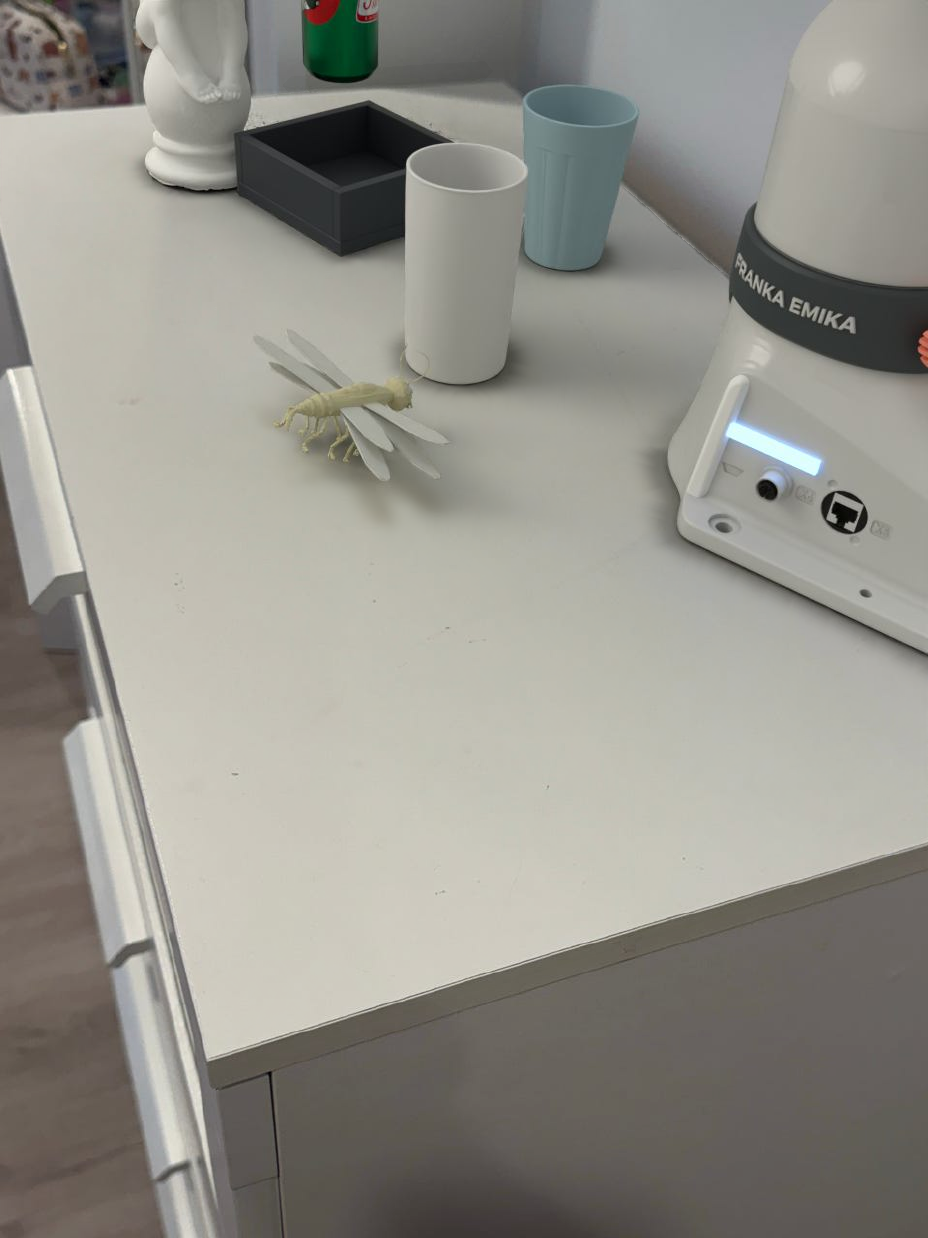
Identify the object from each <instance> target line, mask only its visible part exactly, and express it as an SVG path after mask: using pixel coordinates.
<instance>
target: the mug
mask: <svg viewBox="0 0 928 1238" xmlns="http://www.w3.org/2000/svg"><path fill="white" fill-rule="evenodd" d="M406 167H407V170H406V200H405V235H404V236H405V237H404V242H405V243H404V244H405V245H404V247H405V248H404V264H405V265H404V347H405V346H406V343H407V344H408V346H406V349H405V348H404V349H405V352H404V356H405V360H406V363H407V364H408V365H409V368H411V369H412V370H413V371H414V372H416V373H417V375H420V376H422V375H423V374H425V373H426V372H427V371H426V370H428V369H427V368H428V367H430V368H429V370H428V372H427V373H426V375H424V376H423V377H424V378H426V379H429V380H432V381H435V382H439V383H442V384H450V385H470V384H476V383H480V382H481V383H482V382H484V381H488V380H490V379H492V378H493V377H496V375H498V374H499V373H500V372H501V371H502V370H503V368H504V367H505V364H506V359H507V354H508V348H509V347H508V346H509V341H510V334H511V325H512V316H513V309H514V300H515V299H514V298H515V289H516V282H517V273H518V267H519V257H520V249H521V242H522V233H523V225H524V209H525V201H526V191H527V178H528V168H527V166H526V164H525V163H524V160H522V158H520V157H518V156H517V155H515V154H514V153H511V152H509V151H507V150H505V149H501V148H499V147H496V146H495V147H494V146H491V145H486V144H480V143H473V142H455V143H443V144H436V145H432V146H428V147H425V148H422V149H419V150H417V151H416V152H414V153H413V154H412V155H410V157H409V158H408V160H407V163H406ZM414 351H420V352H422V353H424V354H425V355H426V356H427V357H428V359H429V361H428V360H427V358H426V357H425V356H424V355H422V354H421V353H419V352H414ZM428 362H430V366H428ZM425 371H426V372H425ZM424 372H425V373H424Z"/></svg>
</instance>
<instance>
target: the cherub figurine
mask: <svg viewBox="0 0 928 1238" xmlns="http://www.w3.org/2000/svg"><path fill="white" fill-rule="evenodd" d="M135 15H136V16H135V29H136V32H137V35H138V36H139V38H140V40H141V42H142V43H143V45H145V47H146V48H148V49H150V50H151V53H150V54H149V58H148V61H147V63H146V66H145V71H144V76H143V86H142V87H143V97H144V98H143V99H144V103H145V107H146V109H147V112H148V115H149V117H150V119H151V122H152V124H153V126H154V128H155V130H154V131H153V132H152V142H153V144H154V146H153V147H152V148H150V150H148V152H147V153H146V155H145V158H144V165H145V167H146V169H147V170H148V171H147V172H148V173H147V174H149V175H150V176H151V177H153V178H154V179H155V180H157V181H158V182H160V184H163V185H167V186H174V187H176V186H178V187H180V188H181V187H184V189H190V190H194V191H204V190H205V191H209V190H210V189H211V190H214V191H215V190H216V191H217V190H220V191H221V190H223V189H224V190H228V189H233V188H238V185H237V172H236V158H235V144H234V133H237V132H241V131H245V128H246V125H247V122H248V121H249V116H250V111H251V106H252V92H251V90H252V89H251V84H250V80H249V76H248V74H247V71H246V68H245V66H244V64H245V57H246V54H247V50H248V43H249V32H248V25H247V19H246V4H245V0H139V7H138V8H137V12H136V14H135Z"/></svg>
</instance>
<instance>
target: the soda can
mask: <svg viewBox="0 0 928 1238" xmlns="http://www.w3.org/2000/svg"><path fill="white" fill-rule="evenodd" d="M379 2H380V1H379V0H300V13H301V14H300V17H301V40H302V64H303V66H304V67H305V69H306V70H307V71H308V73H309V74H310V76H312V77H314V78H316V79H317V80H320V81H323V82H328V83H333V84H353V83H359V82H363V81H365V80H367V79H369V78H371V76H372V75H373V74H374V73H375V72H376V70H377V69H378V67H379V6H380V5H379V4H380V3H379Z"/></svg>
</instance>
